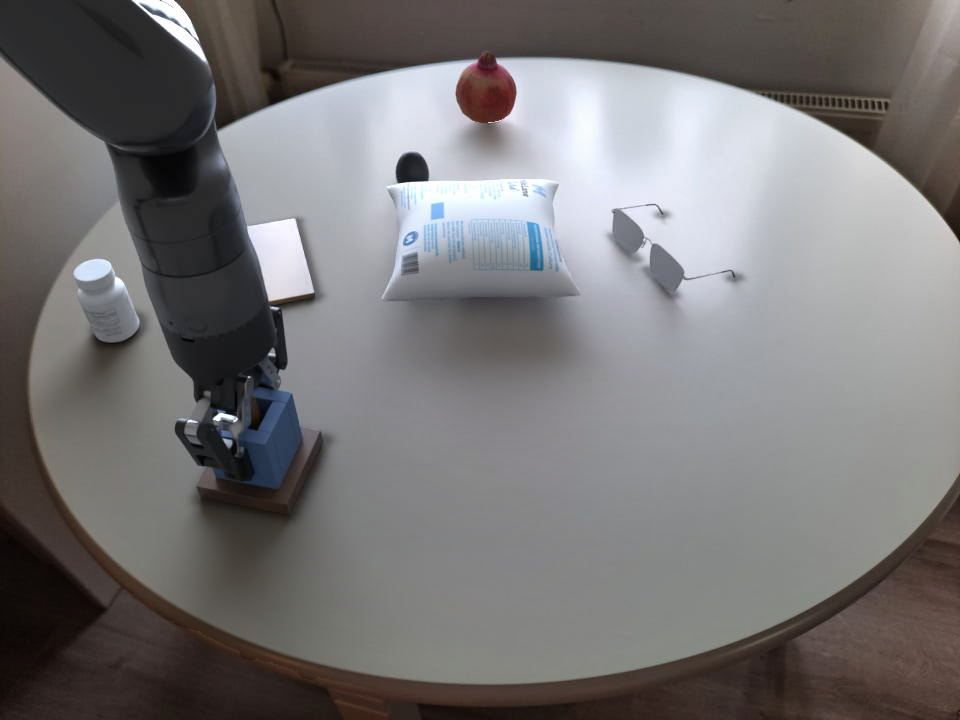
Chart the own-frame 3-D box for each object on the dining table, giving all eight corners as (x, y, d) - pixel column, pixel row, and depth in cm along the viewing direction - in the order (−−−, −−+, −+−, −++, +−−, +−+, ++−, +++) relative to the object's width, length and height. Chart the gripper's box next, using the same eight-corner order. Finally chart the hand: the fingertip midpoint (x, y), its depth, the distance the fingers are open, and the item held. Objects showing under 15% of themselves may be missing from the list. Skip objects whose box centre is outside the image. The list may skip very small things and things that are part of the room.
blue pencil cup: (215, 477, 67) (198, 432, 63) (243, 427, 71) (228, 381, 67) (278, 489, 66) (265, 444, 62) (303, 438, 70) (292, 392, 66)
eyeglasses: (605, 231, 94) (612, 201, 91) (660, 217, 97) (668, 188, 94) (678, 301, 85) (688, 271, 83) (736, 284, 88) (747, 254, 86)
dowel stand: (200, 497, 68) (171, 429, 61) (239, 425, 73) (217, 356, 67) (289, 514, 67) (270, 447, 60) (323, 440, 72) (308, 371, 66)
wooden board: (179, 323, 83) (177, 319, 82) (172, 243, 92) (171, 239, 91) (315, 297, 86) (314, 292, 85) (295, 221, 95) (295, 217, 94)
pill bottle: (116, 309, 84) (91, 250, 78) (149, 322, 83) (126, 263, 77) (85, 335, 81) (57, 276, 76) (118, 349, 80) (92, 290, 74)
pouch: (376, 267, 77) (584, 255, 77) (382, 163, 91) (559, 153, 91) (385, 329, 82) (580, 317, 83) (390, 222, 96) (557, 213, 96)
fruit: (499, 102, 115) (500, 33, 108) (525, 129, 110) (528, 58, 103) (447, 114, 113) (445, 44, 105) (471, 142, 107) (471, 71, 100)
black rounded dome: (391, 182, 101) (388, 147, 97) (421, 174, 102) (419, 139, 98) (404, 199, 98) (401, 164, 95) (434, 191, 99) (433, 155, 96)
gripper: (206, 227, 61) (250, 378, 73) (105, 359, 51) (175, 509, 63) (300, 241, 60) (328, 392, 72) (214, 378, 50) (264, 527, 62)
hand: (256, 446), depth 68 cm, fingers closed on blue pencil cup, 5 cm apart
